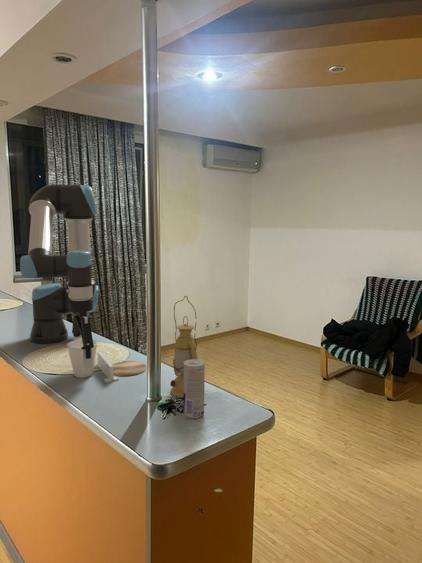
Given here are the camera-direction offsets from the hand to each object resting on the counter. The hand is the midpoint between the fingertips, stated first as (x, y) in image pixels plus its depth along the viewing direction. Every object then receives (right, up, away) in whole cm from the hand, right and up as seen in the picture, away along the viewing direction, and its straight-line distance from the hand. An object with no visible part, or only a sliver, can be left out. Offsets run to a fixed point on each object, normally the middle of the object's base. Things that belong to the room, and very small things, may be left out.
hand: (83, 361), depth 136 cm
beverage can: (+38, -10, -25) cm, 47 cm away
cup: (0, -5, +1) cm, 5 cm away
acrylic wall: (+7, -5, +3) cm, 9 cm away
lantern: (+35, -7, -11) cm, 37 cm away
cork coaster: (+13, -4, +6) cm, 15 cm away
